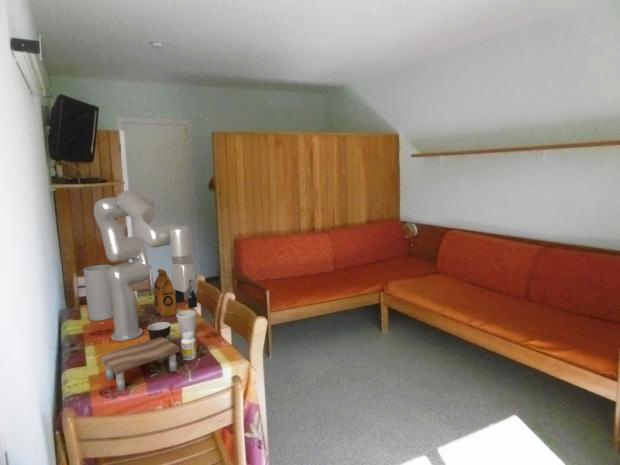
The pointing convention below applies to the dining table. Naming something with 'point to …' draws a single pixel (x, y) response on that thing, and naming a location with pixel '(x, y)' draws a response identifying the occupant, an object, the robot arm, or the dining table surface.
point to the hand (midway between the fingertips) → (186, 304)
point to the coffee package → (164, 295)
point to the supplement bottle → (188, 346)
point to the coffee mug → (159, 330)
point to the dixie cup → (186, 321)
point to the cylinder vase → (98, 293)
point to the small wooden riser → (138, 358)
